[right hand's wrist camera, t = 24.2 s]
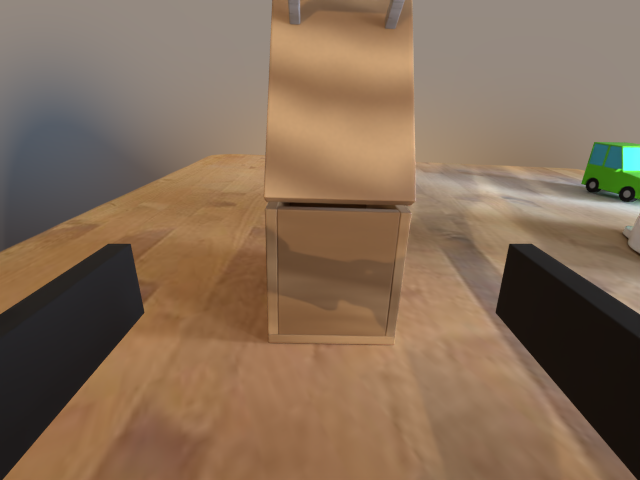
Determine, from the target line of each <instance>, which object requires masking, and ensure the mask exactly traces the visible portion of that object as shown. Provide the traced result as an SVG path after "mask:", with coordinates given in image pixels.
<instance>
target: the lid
mask: <svg viewBox="0 0 640 480" xmlns="http://www.w3.org/2000/svg"><path fill="white" fill-rule="evenodd" d="M264 198H265V200H266V201H267V202H300V203H336V204H371V205H407V206H410V205H412V204H413V203H414V202H415V201H416V184H415V128H414V70H413V13H412V0H272V21H271V44H270V67H269V89H268V112H267V135H266V158H265V180H264Z"/></svg>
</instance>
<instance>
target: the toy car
mask: <svg viewBox="0 0 640 480" xmlns="http://www.w3.org/2000/svg"><path fill="white" fill-rule="evenodd" d="M581 184H584V185H586V188H587V190H588V191H589V192H598V191H600V190H601V189H602V190H606V191H610V192H613V193H617V194H619V197H620V199H621V200H622V201H624V202H633V201H635V200H637V199H640V144H633V143H614V142H594V145H593V148H592V151H591V155H590V158H589V161H588V164H587V167H586V170H585V174H584V177H583V180H582V183H581Z"/></svg>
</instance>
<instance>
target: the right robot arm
mask: <svg viewBox="0 0 640 480" xmlns="http://www.w3.org/2000/svg"><path fill="white" fill-rule="evenodd" d="M143 314H144V308H143V303H142V298H141V293H140V288H139V283H138V278H137V273H136V268H135V263H134V259H133V254H132V249H131V244H107V245H106V246H104V247H103V248H101V249H100V250H98V251H97V252H95V253H94V254H92V255H91V256H89V257H88V258H86V259H84V260H83V261H81V262H80V263H78V264H77V265H75V266H74V267H72V268H71V269H69V270H68V271H66V272H65V273H63V274H61V275H60V276H58V277H57V278H55V279H54V280H52V281H51V282H49V283H48V284H46V285H45V286H43V287H42V288H40V289H38V290H37V291H35V292H34V293H32V294H31V295H29V296H28V297H26V298H25V299H23V300H22V301H20V302H19V303H17V304H15V305H14V306H12V307H11V308H9V309H8V310H6V311H5V312H3V313H2V314H0V480H3V479H4V477H5V476H6V475H7V474H8V473H9V471H10V470H11V469H12V468H13V467H14V466H15V464H16V463H17V462H18V461H19V460H20V458H21V457H22V456H23V455H24V454H25V453H26V451H27V450H28V449H29V448H30V447H31V446H32V444H33V443H34V442H35V441H36V440H37V438H38V437H39V436H40V435H41V434H42V433H43V431H44V430H45V429H46V428H47V427H48V426H49V424H50V423H51V422H52V421H53V420H54V418H55V417H56V416H57V415H58V414H59V413H60V411H61V410H62V409H63V408H64V407H65V406H66V404H67V403H68V402H69V401H70V400H71V398H72V397H73V396H74V395H75V394H76V393H77V391H78V390H79V389H80V388H81V387H82V386H83V384H84V383H85V382H86V381H87V380H88V378H89V377H90V376H91V375H92V374H93V373H94V371H95V370H96V369H97V368H98V367H99V365H100V364H101V363H102V362H103V361H104V360H105V358H106V357H107V356H108V355H109V354H110V353H111V351H112V350H113V349H114V348H115V347H116V345H117V344H118V343H119V342H120V341H121V340H122V338H123V337H124V336H125V335H126V334H127V333H128V331H129V330H130V329H131V328H132V327H133V325H134V324H135V323H136V322H137V321H138V320H139V318H140V317H141V316H142V315H143ZM496 314H497V315H498V316H499V317H500V318H501V320H502V321H503V322H504V323H505V324H506V325H507V327H508V328H509V329H510V330H511V331H512V333H513V334H514V335H515V336H516V337H517V338H518V340H519V341H520V342H521V343H522V344H523V345H524V347H525V348H526V349H527V350H528V351H529V353H530V354H531V355H532V356H533V357H534V358H535V360H536V361H537V362H538V363H539V364H540V365H541V367H542V368H543V369H544V370H545V371H546V373H547V374H548V375H549V376H550V377H551V378H552V380H553V381H554V382H555V383H556V384H557V386H558V387H559V388H560V389H561V390H562V391H563V393H564V394H565V395H566V396H567V397H568V398H569V400H570V401H571V402H572V403H573V404H574V406H575V407H576V408H577V409H578V410H579V411H580V413H581V414H582V415H583V416H584V417H585V418H586V420H587V421H588V422H589V423H590V424H591V426H592V427H593V428H594V429H595V430H596V431H597V433H598V434H599V435H600V436H601V437H602V438H603V440H604V441H605V442H606V443H607V444H608V446H609V447H610V448H611V449H612V450H613V451H614V453H615V454H616V455H617V456H618V457H619V458H620V460H621V461H622V462H623V463H624V464H625V466H626V467H627V468H628V469H629V470H630V471H631V473H632V474H633V475H634V476H635V477H636V479H637V480H640V314H638V313H637V312H635V311H634V310H632V309H631V308H629V307H628V306H626V305H625V304H623V303H621V302H620V301H618V300H617V299H615V298H614V297H612V296H611V295H609V294H608V293H606V292H605V291H603V290H602V289H600V288H598V287H597V286H595V285H594V284H592V283H591V282H589V281H588V280H586V279H585V278H583V277H582V276H580V275H579V274H577V273H575V272H574V271H572V270H571V269H569V268H568V267H566V266H565V265H563V264H562V263H560V262H559V261H557V260H556V259H554V258H552V257H551V256H549V255H548V254H546V253H545V252H543V251H542V250H540V249H539V248H537V247H536V246H534V245H533V244H509V249H508V254H507V259H506V263H505V268H504V273H503V278H502V283H501V288H500V293H499V298H498V303H497V308H496Z"/></svg>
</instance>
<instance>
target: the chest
mask: <svg viewBox="0 0 640 480" xmlns="http://www.w3.org/2000/svg"><path fill="white" fill-rule="evenodd" d="M411 216H412V213H411V212H410V211H409V210H408V208H407V207H406V206H405V205H371V204H336V203H300V202H268V204H267V207H266V209H265V226H266V267H267V308H268V342H269V343H319V344H380V345H394V341H395V333H396V325H397V318H398V311H399V303H400V296H401V289H402V281H403V274H404V267H405V260H406V252H407V245H408V238H409V230H410V223H411Z"/></svg>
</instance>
